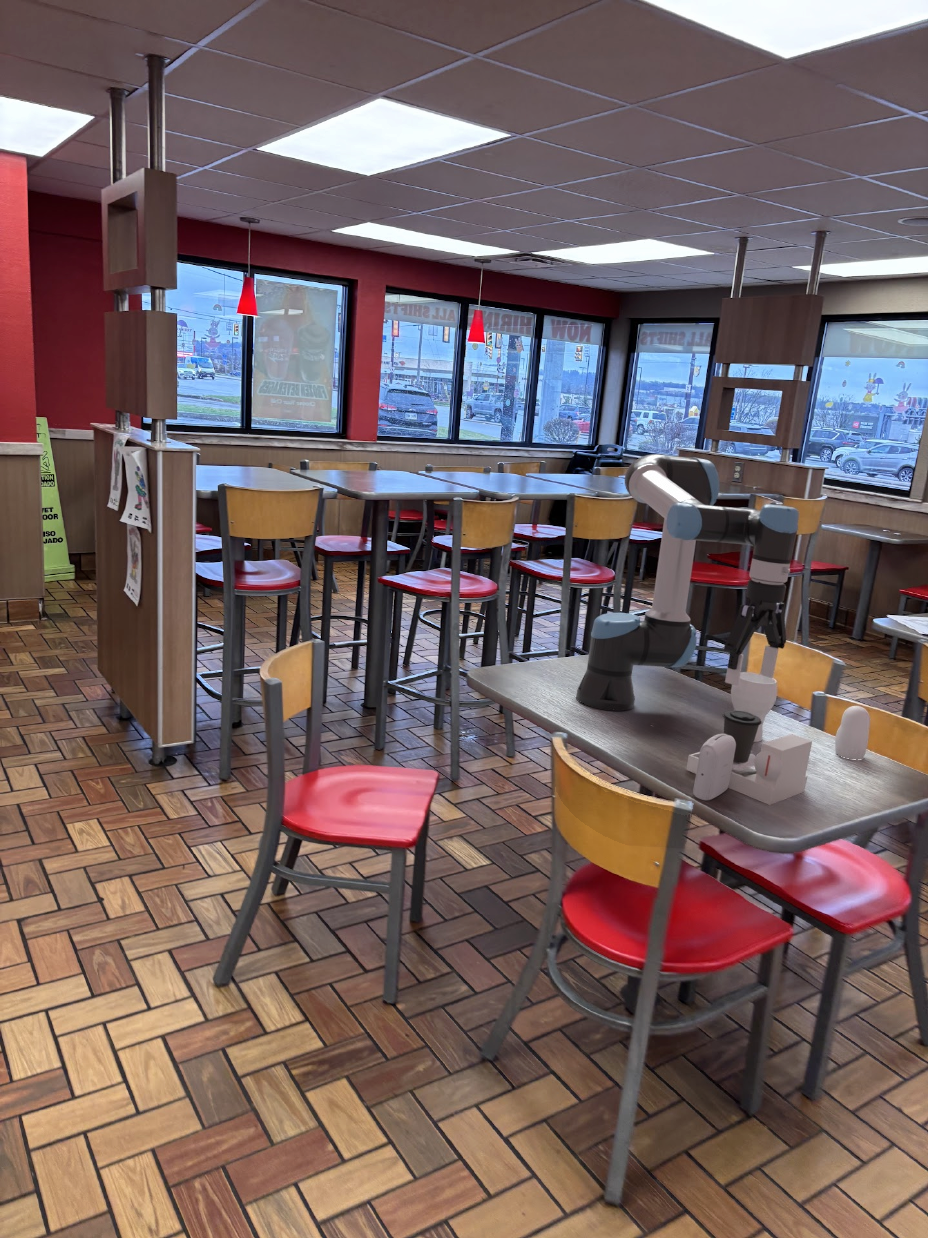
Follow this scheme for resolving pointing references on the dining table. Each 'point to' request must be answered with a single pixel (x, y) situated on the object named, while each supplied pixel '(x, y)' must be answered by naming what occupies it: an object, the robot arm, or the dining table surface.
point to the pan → (745, 766)
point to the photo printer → (714, 766)
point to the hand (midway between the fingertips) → (749, 680)
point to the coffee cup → (741, 732)
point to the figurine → (853, 733)
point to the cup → (754, 696)
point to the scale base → (772, 770)
